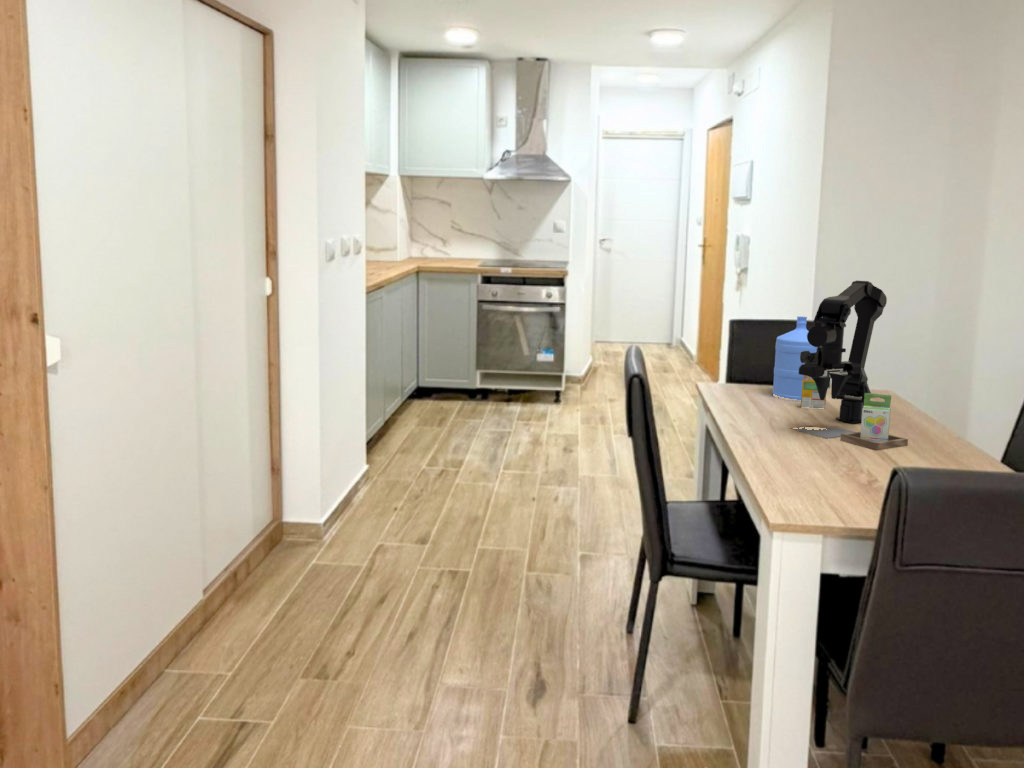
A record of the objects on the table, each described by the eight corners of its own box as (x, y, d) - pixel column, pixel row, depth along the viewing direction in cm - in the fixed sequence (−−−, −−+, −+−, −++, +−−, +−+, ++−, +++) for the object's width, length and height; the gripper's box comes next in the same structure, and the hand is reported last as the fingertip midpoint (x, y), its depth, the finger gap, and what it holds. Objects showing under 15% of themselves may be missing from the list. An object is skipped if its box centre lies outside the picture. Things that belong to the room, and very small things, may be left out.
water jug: (826, 405, 311) (833, 319, 307) (778, 404, 311) (784, 318, 307) (812, 396, 327) (818, 315, 322) (766, 395, 327) (772, 314, 322)
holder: (871, 437, 264) (871, 430, 264) (907, 446, 254) (908, 439, 253) (840, 441, 258) (840, 434, 258) (876, 450, 248) (876, 443, 248)
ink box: (859, 444, 255) (863, 395, 253) (860, 441, 259) (864, 392, 257) (887, 447, 253) (891, 397, 251) (887, 444, 256) (892, 395, 254)
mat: (824, 425, 279) (824, 423, 279) (862, 435, 267) (862, 433, 267) (788, 429, 272) (788, 427, 272) (826, 439, 260) (826, 437, 260)
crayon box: (824, 410, 302) (827, 374, 300) (825, 412, 299) (827, 376, 297) (800, 409, 303) (802, 373, 301) (800, 411, 300) (803, 374, 298)
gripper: (833, 339, 277) (829, 392, 279) (786, 342, 268) (782, 396, 270) (864, 344, 267) (859, 398, 270) (816, 347, 258) (811, 403, 261)
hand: (827, 399), depth 268 cm, fingers open, 4 cm apart
